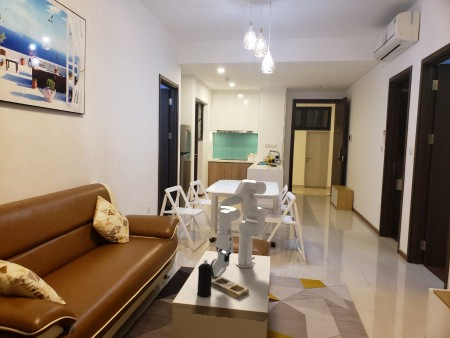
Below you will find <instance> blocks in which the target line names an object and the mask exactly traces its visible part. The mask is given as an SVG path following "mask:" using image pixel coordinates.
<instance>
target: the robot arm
mask: <svg viewBox="0 0 450 338" xmlns="http://www.w3.org/2000/svg"><path fill="white" fill-rule="evenodd" d="M266 191H267V185H266V183H265V182H263V181H258V180H249V179H243V180H241V181H240V182H239V184H238V186H237V187H236V190H235V191H234V193H233V194H230V196H227V197H226V198H224V199H223V200H222V201H221V203H220V205H219V206H218V208H217V211H216V212H217V213H216V214H217V216H218V231H217V234H216V241H215V242H216V243H214V247H215V249H216V252H217V254H218V253H219V252H221V251H225V252H226V256H225V262H228V261H229V262H230V257H229V255H231V254H233V253H235V250H234V238H233V230H232V222H234V221H238V220H239V219H240V217H241V215H242V213H241V211H240V209H238V208H236V207H232V206H234V205H240V204H242V203H244V207H243V218H245V219H247V220H241V221H240V222H239V224H238V235H239V236H238V237H239V238H238V253H237V254H238V255H237V259H238V260H236V261H235V266H237V267H239V268H243V269H248V268H249V269H250V268H252V267H254V263H253V260H255V259H256V258H255V256H253V237H257V238H261V237H262V236H263V235H264V230H265V223H266V218H267V217H266V216H267V215H266V214H267V211H266V209H265V208H264V207H261V206H258V197H257V195H264V194H265V193H266ZM255 221H256V222H255Z"/></svg>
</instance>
